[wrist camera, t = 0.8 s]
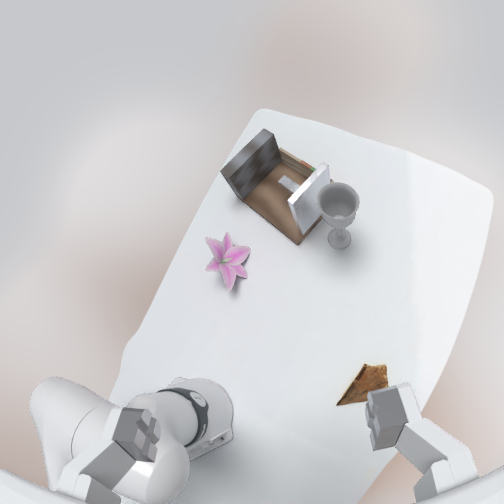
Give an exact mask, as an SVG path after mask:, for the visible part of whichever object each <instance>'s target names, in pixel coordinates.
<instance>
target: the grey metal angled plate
mask: <svg viewBox="0 0 504 504" xmlns="http://www.w3.org/2000/svg"><path fill="white" fill-rule="evenodd" d="M278 183H279V186H280V187H281V188H283V189H284V190H286V191H287V192H288V193H290V194H291V195H292V196H291V197H290V198H289V199H288V200H287V201H288V203H289V206H290V209H291V212H292V214H293V217H294V220H295V223H296V226H297V228H298V231H299V233H301V234H302V235H304V234H305V233H306V232H307V230H308V229H309V228H310V227H311V226H312V225H313V224H314V223H315V221H316V220H317V219H318V218H319V217H320V216H321V215H322V212H321V210H320V209H319V207H318V205H317V199H316V198H317V194H318V192H319V191H320V189H321V188H322V187H324V186H325V185H327V184H330V174H329V165H328V164H326V163H324V162H323V163H322V164H321V165H320V166H319V167H318V168H317V169H316V170H315V171H314V172H313V173H312V174H311V176H310V177H309V178H308V179H307V180H306V181H305V182H304V183H303V184H302V185H301V186H300V185H298V184H297V183H295V182H294V181H292V180H291V179H289V178H288V177H287V176H285V175H284V176H283V177H282V178H281V179H280V180H279V181H278Z"/></svg>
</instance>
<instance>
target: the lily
mask: <svg viewBox="0 0 504 504" xmlns="http://www.w3.org/2000/svg"><path fill="white" fill-rule="evenodd" d="M205 240H206V242H207V244H208V246H209V248H210V250H211V252H212V254H213V256H214V258H213V259H212V260H211V262H210V263H209V264H208V265H207V267H206V268H205V271H209V272H220V271H221V274H222V276H223V279H224V282H225V285H226V287H227V290H228V291H231V289H232V287H233V285H234V283H235V279H236V275H238V276H241V277H244V278H247V274H246V271H245V270H244V268H243V266H242V265H241V263H243V262H244V261H245V259H246V258H247V257H248V255H249V253H250V251H251V250H250V248H249V247H245V246H234V247H233V243H232V240H231V237H230V235H229V233H228V232H226V234H225V236H224V239H223V242H222V243H221V242H220V241H218V240H216V239H213V238H210V237H205Z"/></svg>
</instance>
